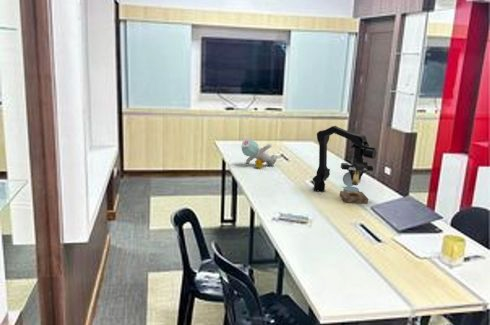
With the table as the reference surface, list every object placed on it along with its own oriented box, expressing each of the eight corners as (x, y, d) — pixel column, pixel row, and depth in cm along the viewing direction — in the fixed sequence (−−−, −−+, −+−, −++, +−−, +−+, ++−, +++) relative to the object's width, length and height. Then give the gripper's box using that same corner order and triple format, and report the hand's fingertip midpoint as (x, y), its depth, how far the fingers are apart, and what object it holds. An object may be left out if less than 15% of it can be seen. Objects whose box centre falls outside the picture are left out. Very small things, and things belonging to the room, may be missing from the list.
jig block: (344, 202, 273) (345, 198, 272) (339, 195, 286) (340, 190, 286) (367, 203, 273) (368, 198, 272) (361, 196, 287) (362, 191, 286)
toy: (287, 147, 341) (255, 128, 330) (283, 167, 330) (250, 147, 320) (262, 163, 364) (232, 145, 354) (258, 182, 354) (227, 164, 344)
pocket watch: (357, 172, 302) (363, 178, 288) (355, 187, 305) (361, 194, 290) (342, 171, 302) (347, 177, 287) (340, 187, 305) (346, 194, 290)
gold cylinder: (352, 185, 275) (354, 170, 273) (350, 183, 279) (352, 169, 277) (358, 185, 275) (360, 171, 273) (357, 183, 279) (358, 169, 277)
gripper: (345, 158, 264) (343, 183, 268) (377, 159, 265) (374, 185, 269) (341, 153, 275) (339, 178, 279) (372, 155, 276) (369, 179, 279)
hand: (355, 180), depth 276 cm, fingers closed on gold cylinder, 4 cm apart
